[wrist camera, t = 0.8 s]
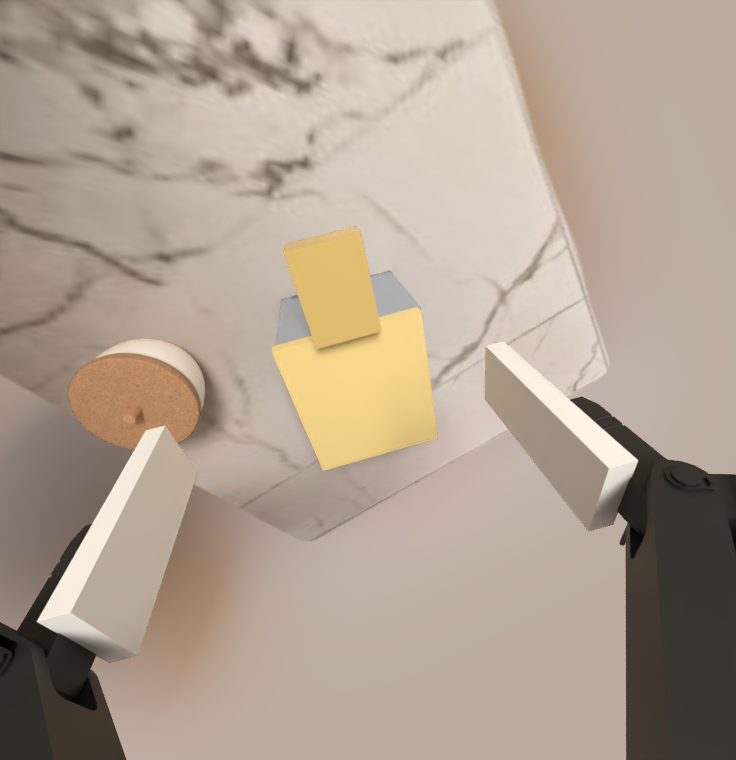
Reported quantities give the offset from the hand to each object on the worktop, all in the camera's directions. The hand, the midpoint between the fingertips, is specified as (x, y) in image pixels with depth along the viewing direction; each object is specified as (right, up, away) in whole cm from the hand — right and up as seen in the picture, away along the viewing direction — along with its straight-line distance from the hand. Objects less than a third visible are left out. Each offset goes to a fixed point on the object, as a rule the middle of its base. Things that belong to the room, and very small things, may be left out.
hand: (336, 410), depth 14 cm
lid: (0, +3, +15) cm, 15 cm away
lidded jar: (-22, +3, +24) cm, 32 cm away
